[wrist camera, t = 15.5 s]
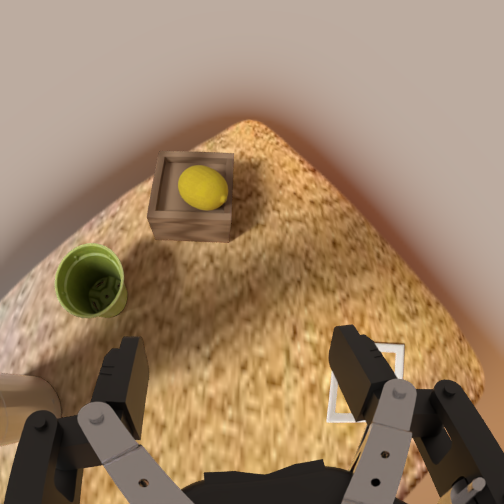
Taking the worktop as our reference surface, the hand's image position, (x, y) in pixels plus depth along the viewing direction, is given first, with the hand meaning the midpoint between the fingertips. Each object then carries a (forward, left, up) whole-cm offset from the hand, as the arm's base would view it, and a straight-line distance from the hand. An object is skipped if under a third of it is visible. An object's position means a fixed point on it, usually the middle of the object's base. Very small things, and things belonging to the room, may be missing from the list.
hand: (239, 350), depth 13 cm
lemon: (-7, +24, -23) cm, 34 cm away
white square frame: (+21, -3, -31) cm, 38 cm away
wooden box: (-5, +23, -31) cm, 39 cm away
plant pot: (-17, +9, -31) cm, 36 cm away
